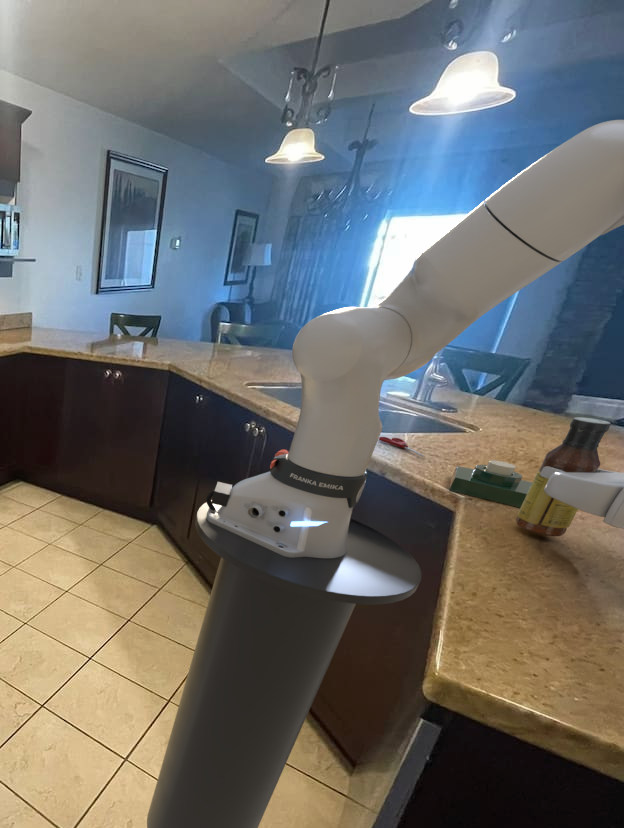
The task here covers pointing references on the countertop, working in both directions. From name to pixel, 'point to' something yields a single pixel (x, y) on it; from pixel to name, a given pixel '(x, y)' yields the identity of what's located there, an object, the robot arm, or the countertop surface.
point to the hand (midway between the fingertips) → (564, 470)
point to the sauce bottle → (571, 457)
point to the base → (490, 485)
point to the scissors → (398, 443)
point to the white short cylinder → (500, 467)
